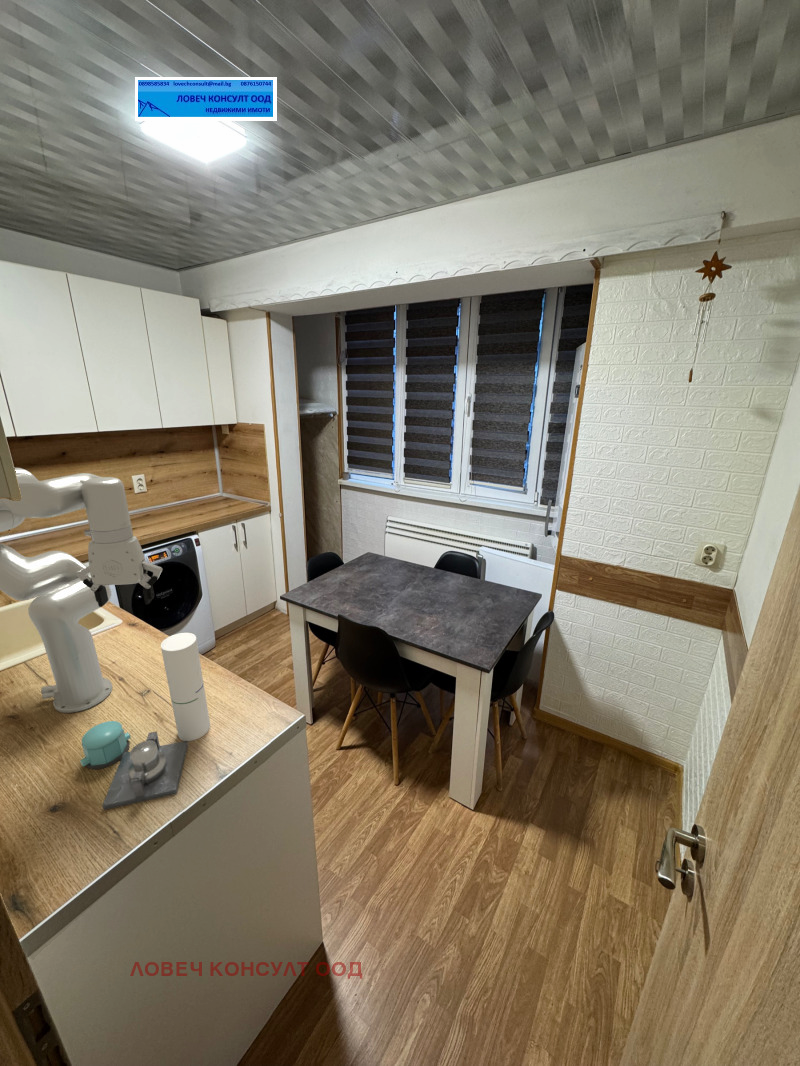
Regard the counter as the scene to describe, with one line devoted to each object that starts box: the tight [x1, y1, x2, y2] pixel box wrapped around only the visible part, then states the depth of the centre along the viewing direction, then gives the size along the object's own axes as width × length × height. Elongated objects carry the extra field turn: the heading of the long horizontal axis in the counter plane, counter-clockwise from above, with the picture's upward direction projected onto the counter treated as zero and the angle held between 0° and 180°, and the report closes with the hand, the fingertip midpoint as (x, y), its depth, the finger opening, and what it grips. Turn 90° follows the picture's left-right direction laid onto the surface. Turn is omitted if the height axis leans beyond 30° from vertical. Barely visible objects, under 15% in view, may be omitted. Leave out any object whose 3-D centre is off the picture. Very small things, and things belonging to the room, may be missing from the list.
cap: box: [79, 720, 131, 767], centre depth 94 cm, size 10×7×5 cm
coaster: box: [85, 739, 130, 770], centre depth 94 cm, size 8×8×1 cm
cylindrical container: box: [160, 632, 211, 742], centre depth 98 cm, size 7×7×25 cm
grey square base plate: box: [102, 731, 189, 811], centre depth 89 cm, size 13×13×7 cm
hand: (126, 602), depth 98 cm, fingers open, 9 cm apart
